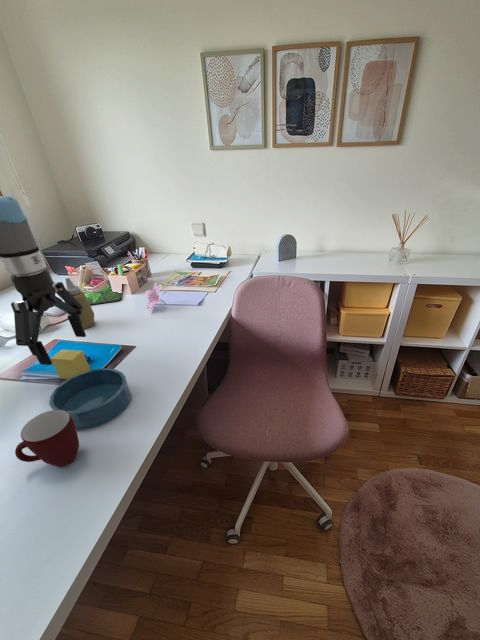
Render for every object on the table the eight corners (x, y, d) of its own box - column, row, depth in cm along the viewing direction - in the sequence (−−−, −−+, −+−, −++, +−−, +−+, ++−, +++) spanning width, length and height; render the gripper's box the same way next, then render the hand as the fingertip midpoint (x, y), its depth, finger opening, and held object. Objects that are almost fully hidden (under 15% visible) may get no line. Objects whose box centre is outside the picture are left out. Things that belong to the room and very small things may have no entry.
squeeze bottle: (94, 318, 115) (77, 272, 105) (100, 325, 110) (83, 278, 100) (71, 325, 111) (51, 277, 101) (76, 333, 106) (56, 284, 96)
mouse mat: (121, 300, 128) (121, 298, 128) (64, 309, 122) (63, 306, 122) (123, 280, 150) (123, 278, 149) (74, 286, 144) (74, 284, 143)
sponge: (60, 379, 84) (49, 358, 80) (70, 369, 88) (61, 349, 84) (81, 380, 83) (71, 360, 79) (91, 370, 87) (82, 350, 83)
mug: (28, 491, 56) (2, 456, 50) (28, 460, 61) (4, 426, 56) (90, 463, 61) (72, 428, 55) (85, 437, 66) (68, 403, 61)
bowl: (41, 426, 69) (31, 410, 66) (86, 380, 83) (79, 366, 80) (107, 433, 67) (100, 417, 64) (142, 385, 81) (138, 370, 78)
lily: (150, 303, 128) (135, 288, 121) (174, 291, 127) (160, 275, 120) (151, 322, 121) (136, 308, 114) (177, 310, 120) (162, 294, 112)
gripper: (-5, 293, 58) (43, 379, 70) (78, 256, 79) (104, 327, 90) (-38, 292, 59) (14, 377, 71) (52, 256, 80) (81, 326, 91)
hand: (65, 349), depth 81 cm, fingers open, 13 cm apart
